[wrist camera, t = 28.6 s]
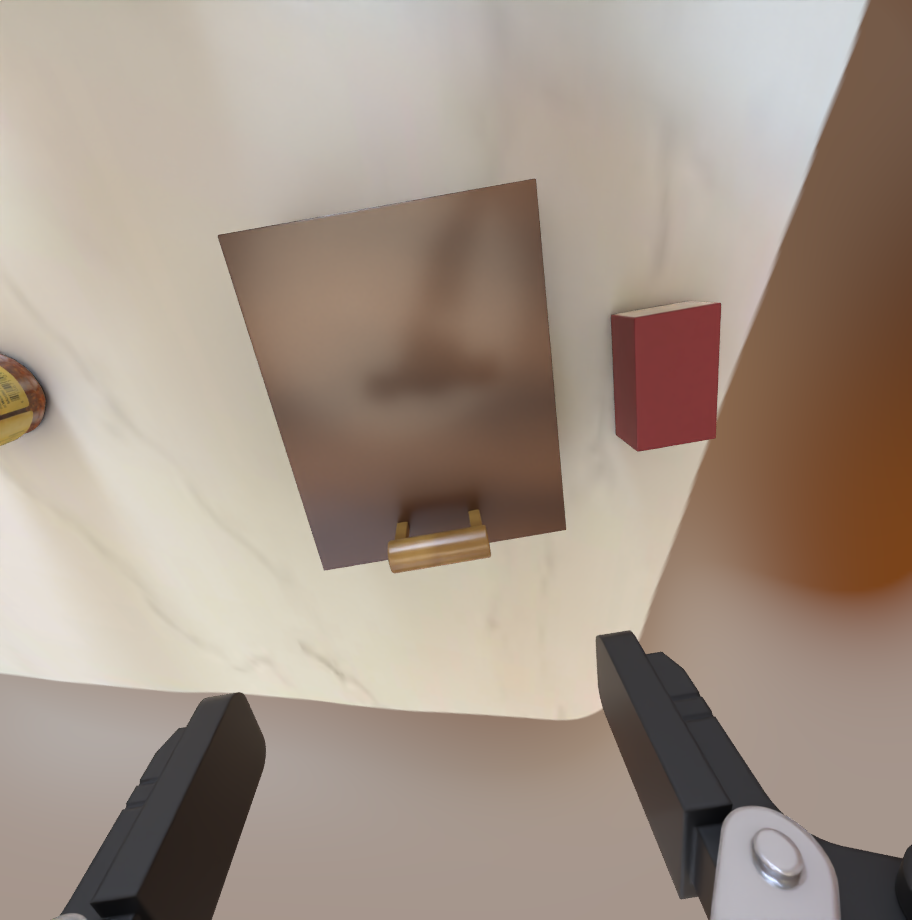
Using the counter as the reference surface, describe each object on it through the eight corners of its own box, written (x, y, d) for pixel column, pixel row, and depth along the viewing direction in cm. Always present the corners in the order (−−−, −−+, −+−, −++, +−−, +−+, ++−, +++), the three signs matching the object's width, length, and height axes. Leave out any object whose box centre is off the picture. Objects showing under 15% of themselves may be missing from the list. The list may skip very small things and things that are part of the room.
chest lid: (563, 523, 30) (587, 567, 25) (326, 563, 30) (306, 614, 25) (532, 181, 23) (558, 153, 18) (223, 236, 23) (170, 223, 18)
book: (685, 422, 35) (716, 438, 31) (615, 435, 35) (637, 452, 31) (687, 300, 32) (721, 301, 28) (610, 314, 32) (634, 317, 28)
